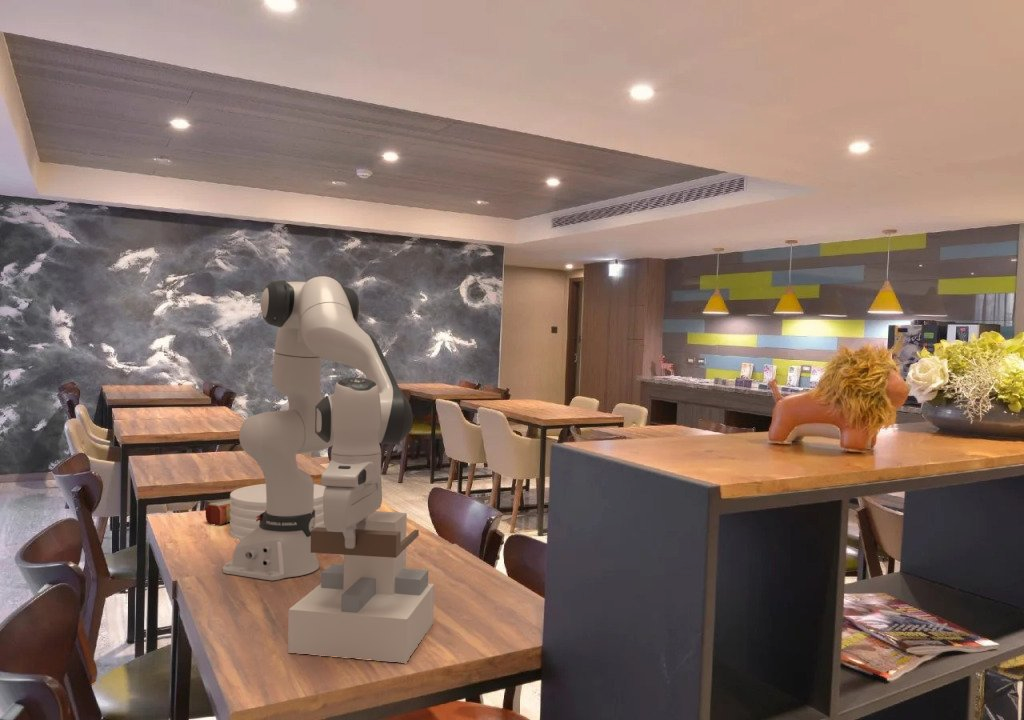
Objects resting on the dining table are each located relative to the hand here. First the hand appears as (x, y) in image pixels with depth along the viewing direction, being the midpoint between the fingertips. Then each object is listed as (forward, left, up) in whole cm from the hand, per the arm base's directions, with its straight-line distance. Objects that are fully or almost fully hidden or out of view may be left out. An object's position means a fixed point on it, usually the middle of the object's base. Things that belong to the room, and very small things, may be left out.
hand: (355, 544), depth 133 cm
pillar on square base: (0, +6, -20) cm, 21 cm away
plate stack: (-50, +75, -20) cm, 93 cm away
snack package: (-69, +85, -20) cm, 112 cm away
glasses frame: (0, +6, -2) cm, 7 cm away
